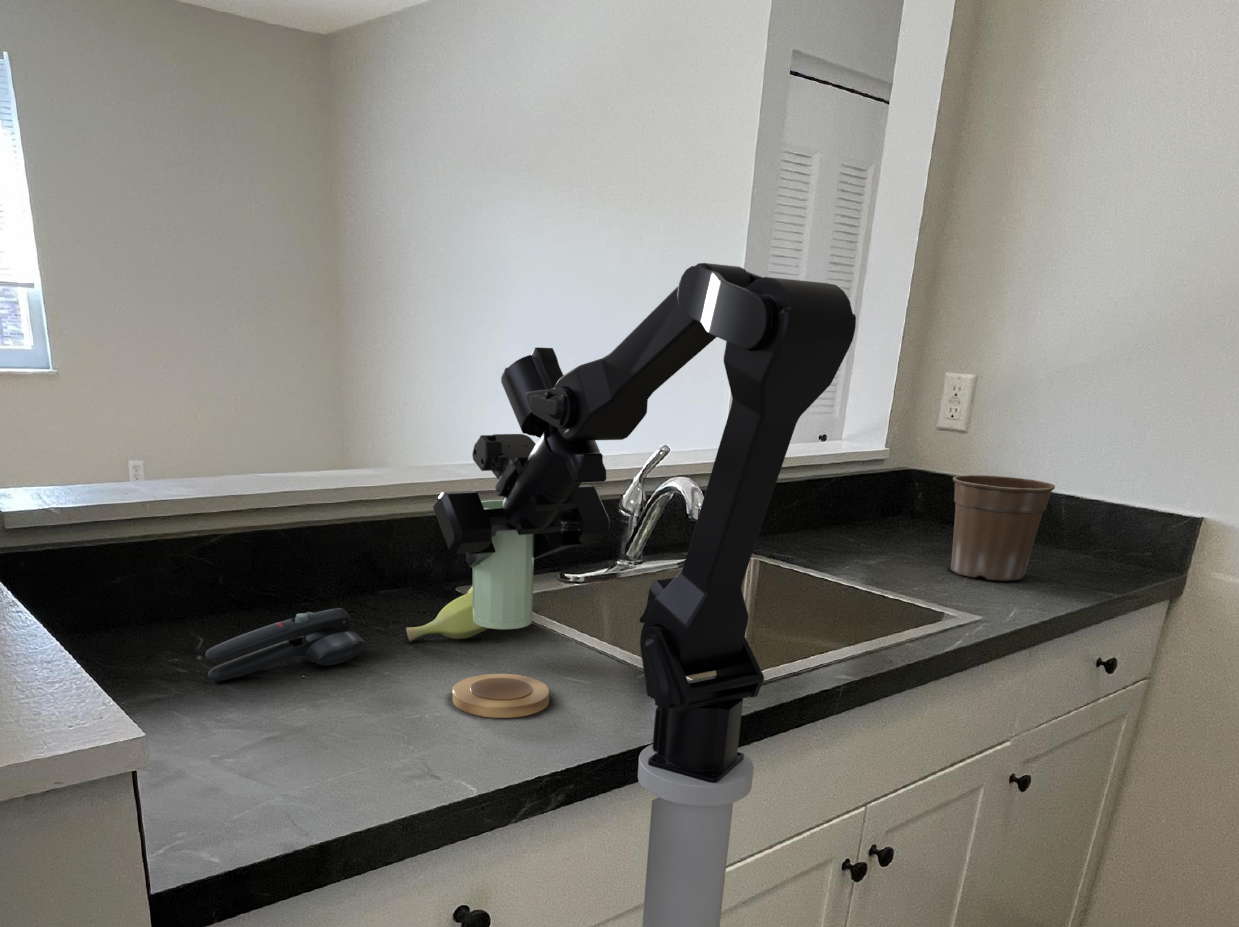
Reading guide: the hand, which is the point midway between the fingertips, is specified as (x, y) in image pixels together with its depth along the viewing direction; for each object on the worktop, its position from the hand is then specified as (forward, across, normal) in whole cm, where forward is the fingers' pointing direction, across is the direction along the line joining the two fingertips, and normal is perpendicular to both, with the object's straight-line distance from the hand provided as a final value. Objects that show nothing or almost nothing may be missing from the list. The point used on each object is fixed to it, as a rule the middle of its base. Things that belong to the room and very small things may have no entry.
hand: (497, 560), depth 109 cm
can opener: (+15, +22, +2) cm, 26 cm away
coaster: (+1, +5, +16) cm, 17 cm away
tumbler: (+4, 0, +6) cm, 7 cm away
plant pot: (+12, -100, +5) cm, 101 cm away
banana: (+20, -3, -2) cm, 20 cm away
